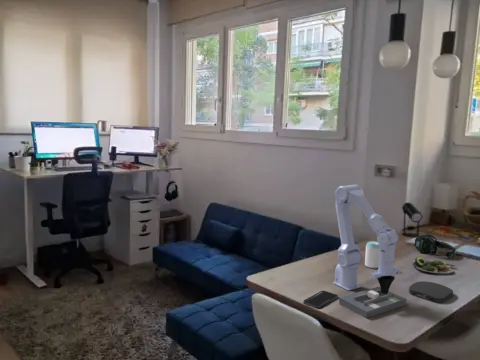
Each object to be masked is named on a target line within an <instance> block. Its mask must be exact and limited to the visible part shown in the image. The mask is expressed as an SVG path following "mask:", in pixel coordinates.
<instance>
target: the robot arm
mask: <svg viewBox="0 0 480 360" xmlns="http://www.w3.org/2000/svg"><path fill="white" fill-rule="evenodd" d="M364 194H365V192H364V190H363V189H362V188H361V186H360V185H359V184H356V183H354V184H349V185H339V186H338V187H337V188H336V189H335V191H334V196H335V205H334V206H335V211H336V217H337V225H338V231H339V236H340V246H339V247H338V249H337V263H338V264H336V267H335V271H334V281H333V284H334V285H337V286H338V287H340V288H342V289H344V290H345V291H352V290H356V289H360V288H362V285H360V284H358V275H359V267H360V263H362V261H363V254H362V253H361V250H360V246H358V245H357V244H356V243H355V237H354V232H353V227H352V226H353V224H352V221H351V214H350V206H351V205H352V204H354V205H356V206H357V207H358V208H359V209H360V211H361V212H363V214H364V215H365V217H367V224H368V225H369V227H371V229H372V230H373V232H374V233H375V235H376V236H377V237H376V242H378V243H379V248H380V251H379V267H378V268H377V270H375V271H374V272H371V273H370V278H371V279H372V280H375V281H376V280H377V282H378V284H379V287H380V288H381V292H382V293H384V294H388V291H389V290H390V288H391V286H392V284H393V282H394V281H395V278H396V277H395V276H396V274H401V268H399V267H397V266H395V257H396V254H395V253H396V244H397V243H398V242H399V240H400V236H399V233H398V231H397V230H396V229H394V228H392V227H390V225H388V224H387V222H386V221H385V218H384V217H383V215H381V214H378V213H376V212H375V211H374V209H373V208H372V206H371V205H370V203H369V201H368V199H366V197H365V195H364Z"/></svg>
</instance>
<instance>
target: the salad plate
mask: <svg viewBox="0 0 480 360" xmlns="http://www.w3.org/2000/svg"><path fill="white" fill-rule="evenodd" d="M412 266H413V268H414V269H416V270H417V271H418V272H419V273H423V274H425V275H449V274H451V273H453V272H454V269H452V267H455V266H456V265H454V264H450V263H446V262H445V261H443V262H442V260H437V259H434V260H426V259H425V258H424V257H423V256H419V255H418V256H416V257H415V258H414V259H413V261H412ZM440 271H444V272H440Z"/></svg>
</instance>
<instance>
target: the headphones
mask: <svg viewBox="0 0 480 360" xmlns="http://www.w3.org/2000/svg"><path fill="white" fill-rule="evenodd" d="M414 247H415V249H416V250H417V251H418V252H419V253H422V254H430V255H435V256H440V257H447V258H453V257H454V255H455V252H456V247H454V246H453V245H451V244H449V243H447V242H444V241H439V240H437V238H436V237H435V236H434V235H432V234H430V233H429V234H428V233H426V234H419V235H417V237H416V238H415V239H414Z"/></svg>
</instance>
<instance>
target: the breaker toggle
mask: <svg viewBox="0 0 480 360" xmlns="http://www.w3.org/2000/svg"><path fill="white" fill-rule="evenodd" d="M367 296H368V297H370V298H372V299H374V298H377V297H379V293H377V292H375V291H372V290H371V291H368V293H367Z"/></svg>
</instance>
